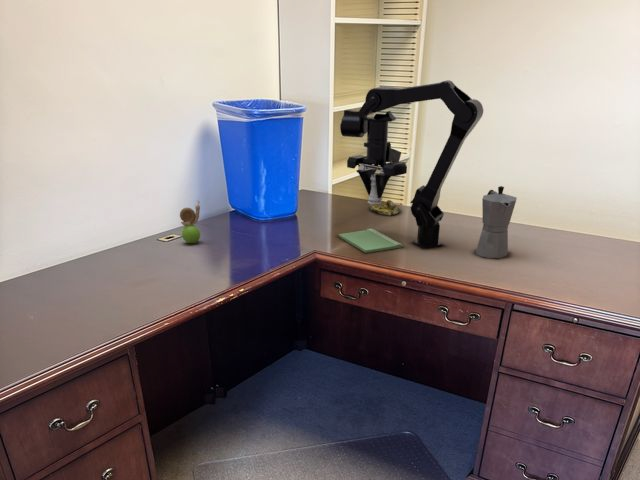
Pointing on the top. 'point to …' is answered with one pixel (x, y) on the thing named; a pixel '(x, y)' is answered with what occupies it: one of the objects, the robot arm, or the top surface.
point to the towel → (370, 240)
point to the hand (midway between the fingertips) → (375, 196)
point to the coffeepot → (495, 224)
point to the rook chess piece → (374, 193)
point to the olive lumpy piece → (385, 208)
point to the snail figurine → (190, 224)
